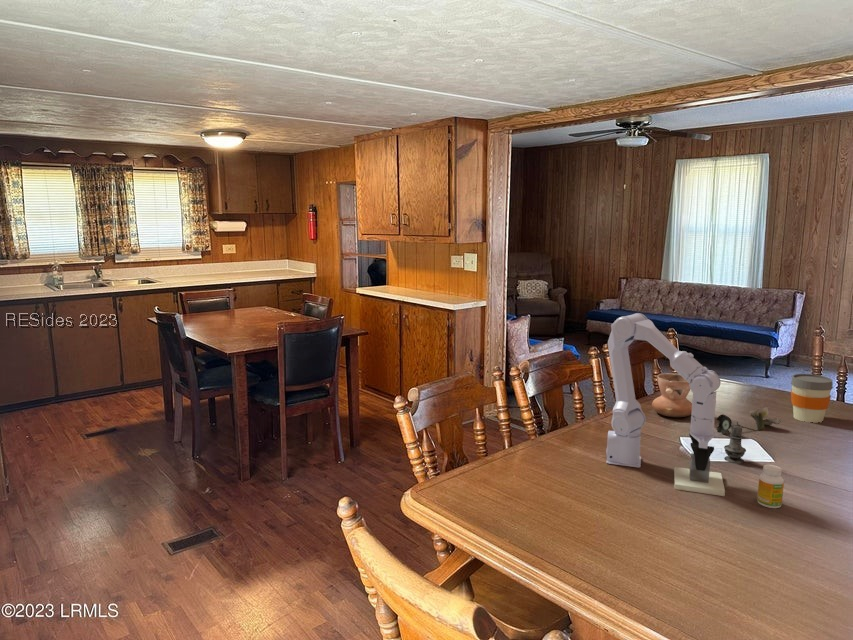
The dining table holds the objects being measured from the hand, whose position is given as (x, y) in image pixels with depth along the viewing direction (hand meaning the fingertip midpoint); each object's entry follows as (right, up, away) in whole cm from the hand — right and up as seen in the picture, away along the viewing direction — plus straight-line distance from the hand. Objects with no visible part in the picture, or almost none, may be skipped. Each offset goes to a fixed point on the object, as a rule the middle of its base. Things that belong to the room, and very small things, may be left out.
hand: (699, 464), depth 163 cm
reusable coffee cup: (+63, +4, +52) cm, 82 cm away
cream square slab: (0, -6, +1) cm, 6 cm away
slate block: (0, -4, +1) cm, 4 cm away
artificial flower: (+35, +1, +42) cm, 55 cm away
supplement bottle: (+12, -8, -11) cm, 18 cm away
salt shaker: (+18, -3, +16) cm, 24 cm away
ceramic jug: (+17, +4, +59) cm, 61 cm away
